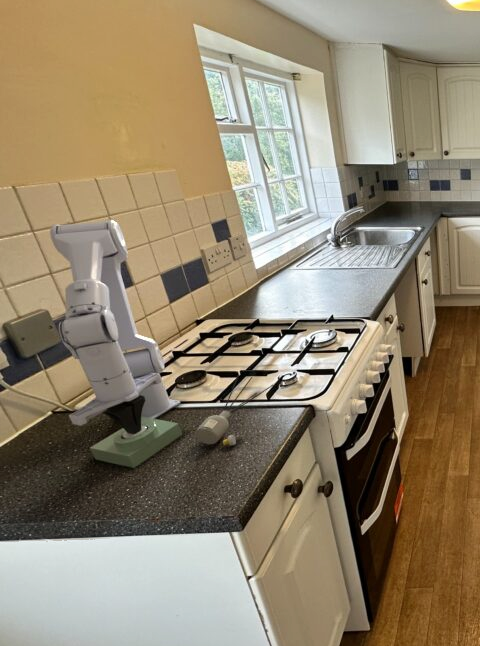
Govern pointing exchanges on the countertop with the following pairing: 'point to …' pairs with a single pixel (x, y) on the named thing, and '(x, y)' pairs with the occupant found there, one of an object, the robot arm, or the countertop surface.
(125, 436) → the white round button
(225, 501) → the countertop surface
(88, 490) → the countertop surface
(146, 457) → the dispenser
